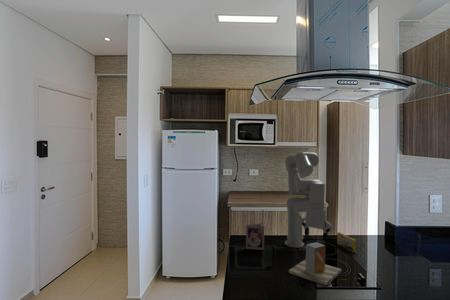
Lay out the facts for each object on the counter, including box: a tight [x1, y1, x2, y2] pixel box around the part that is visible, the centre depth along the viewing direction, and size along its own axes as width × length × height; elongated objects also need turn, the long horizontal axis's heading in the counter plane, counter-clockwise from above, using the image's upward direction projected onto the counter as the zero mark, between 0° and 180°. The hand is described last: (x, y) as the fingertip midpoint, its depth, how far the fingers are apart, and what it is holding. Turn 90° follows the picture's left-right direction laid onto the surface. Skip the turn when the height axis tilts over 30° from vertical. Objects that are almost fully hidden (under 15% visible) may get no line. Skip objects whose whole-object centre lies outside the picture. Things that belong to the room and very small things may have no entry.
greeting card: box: [245, 222, 265, 251], centre depth 185 cm, size 11×7×15 cm, turn 83°
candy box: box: [336, 231, 357, 253], centre depth 187 cm, size 16×2×8 cm, turn 15°
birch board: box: [288, 258, 342, 287], centre depth 151 cm, size 20×20×2 cm
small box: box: [305, 241, 326, 273], centre depth 151 cm, size 8×6×13 cm
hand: (315, 237), depth 151 cm, fingers open, 9 cm apart
